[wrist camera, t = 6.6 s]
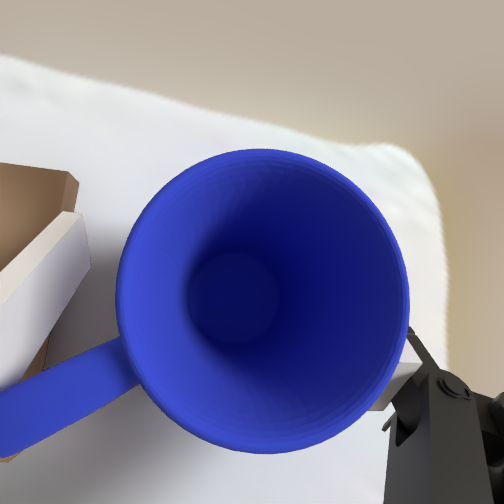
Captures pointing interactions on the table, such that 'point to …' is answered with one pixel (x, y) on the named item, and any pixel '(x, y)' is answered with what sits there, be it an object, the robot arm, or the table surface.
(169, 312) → the mug
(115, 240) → the table surface
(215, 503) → the table surface
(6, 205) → the walnut board
